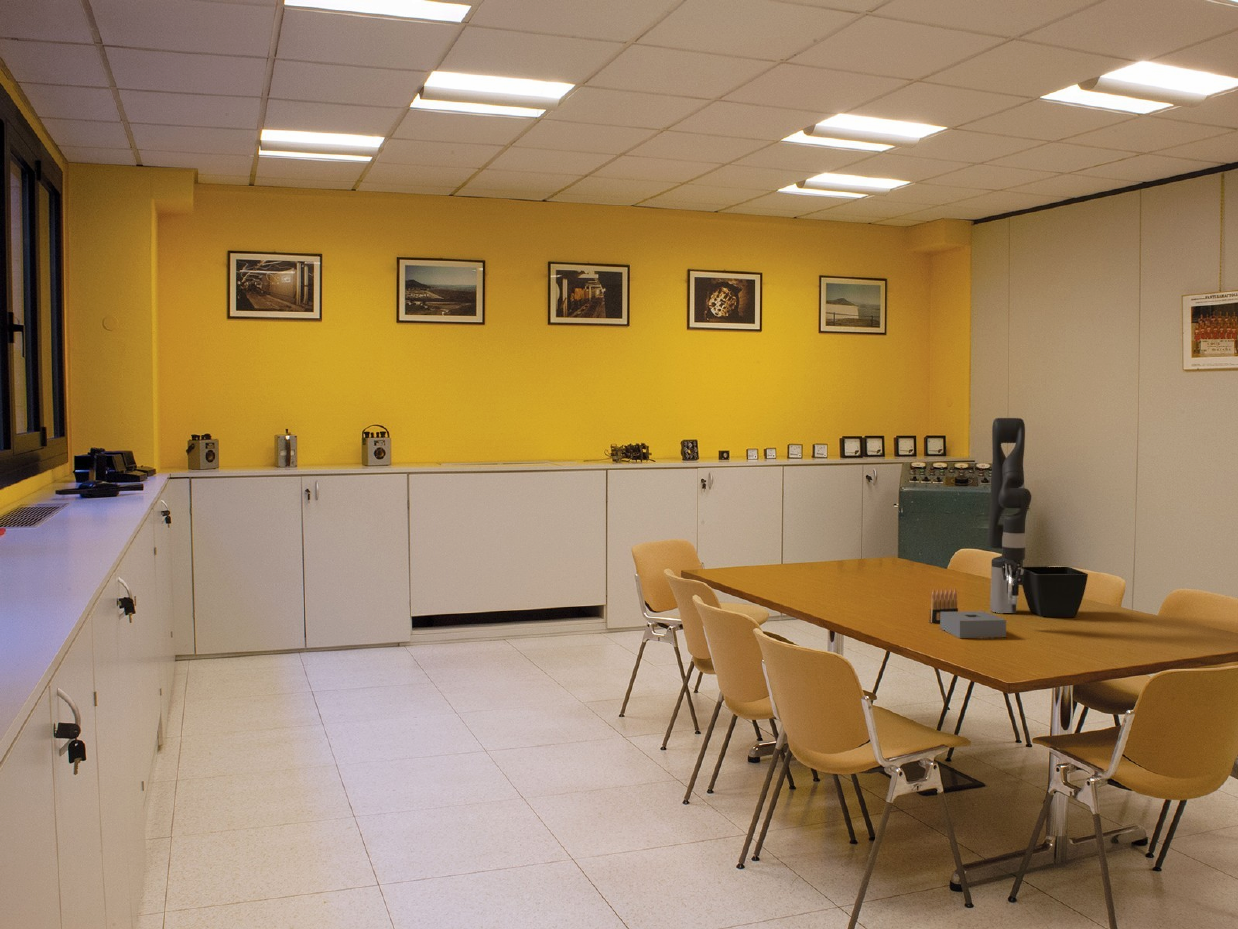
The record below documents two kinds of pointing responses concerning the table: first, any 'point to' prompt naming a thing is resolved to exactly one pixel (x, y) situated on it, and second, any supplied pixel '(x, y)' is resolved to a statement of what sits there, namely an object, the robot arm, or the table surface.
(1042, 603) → the flower pot
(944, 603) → the ammunition clip
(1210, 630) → the table surface
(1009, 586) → the metal pin
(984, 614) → the socket block
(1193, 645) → the table surface
